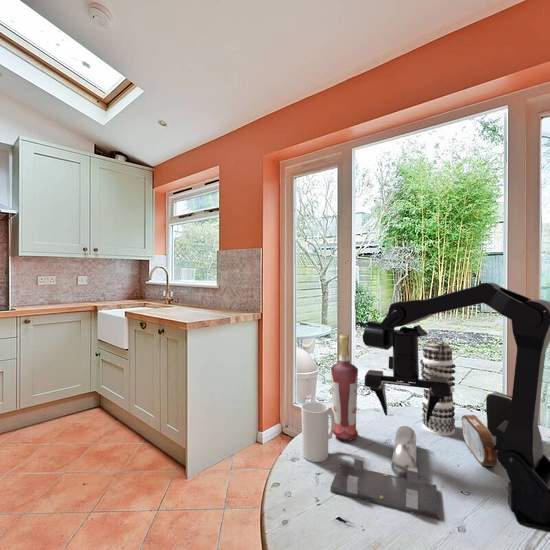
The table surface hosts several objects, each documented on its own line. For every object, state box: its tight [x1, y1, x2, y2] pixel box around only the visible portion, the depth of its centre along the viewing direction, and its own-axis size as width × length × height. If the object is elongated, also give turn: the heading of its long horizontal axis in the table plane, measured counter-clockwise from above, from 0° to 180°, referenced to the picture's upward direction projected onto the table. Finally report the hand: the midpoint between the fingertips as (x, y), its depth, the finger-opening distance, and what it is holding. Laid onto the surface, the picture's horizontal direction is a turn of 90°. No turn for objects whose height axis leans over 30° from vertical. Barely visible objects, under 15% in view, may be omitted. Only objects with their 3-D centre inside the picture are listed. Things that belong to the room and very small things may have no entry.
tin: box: [461, 414, 498, 468], centre depth 81 cm, size 15×3×8 cm, turn 168°
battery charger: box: [485, 392, 512, 437], centre depth 90 cm, size 7×4×11 cm, turn 34°
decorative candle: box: [419, 340, 456, 437], centre depth 95 cm, size 9×9×25 cm
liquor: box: [330, 334, 359, 441], centre depth 91 cm, size 7×7×28 cm
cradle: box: [330, 455, 440, 520], centre depth 67 cm, size 20×10×4 cm, turn 66°
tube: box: [391, 425, 417, 479], centre depth 79 cm, size 16×5×5 cm, turn 156°
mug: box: [300, 401, 335, 463], centre depth 82 cm, size 10×7×12 cm, turn 125°
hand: (406, 417), depth 79 cm, fingers open, 9 cm apart
